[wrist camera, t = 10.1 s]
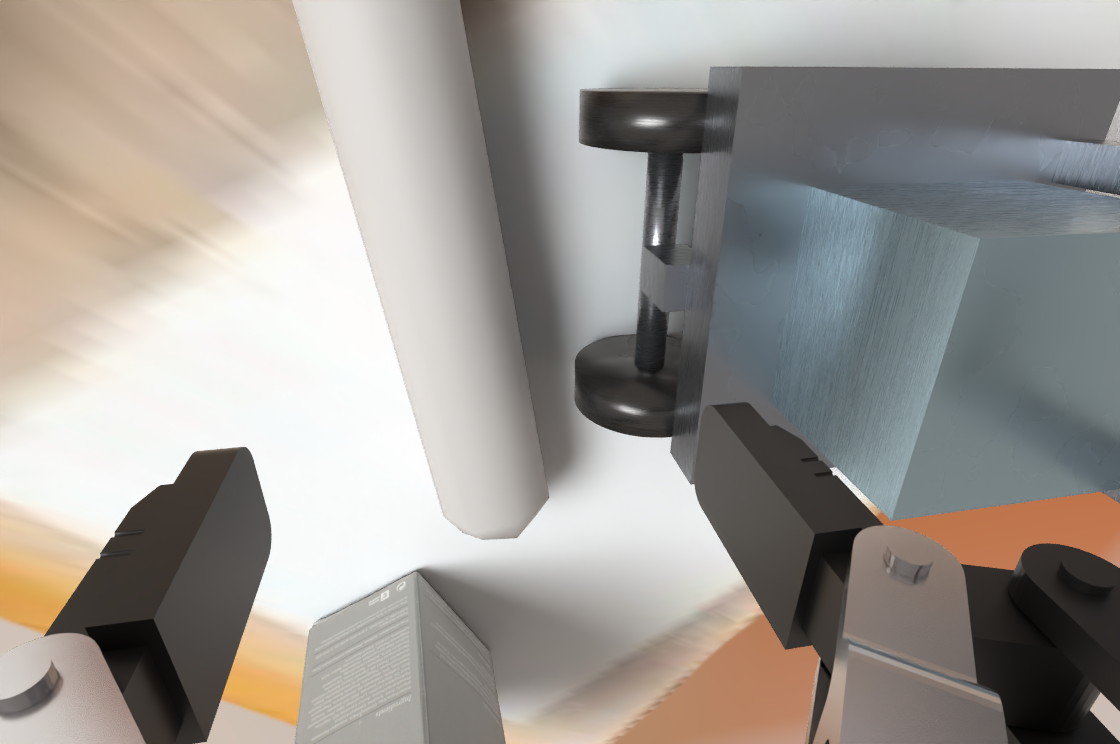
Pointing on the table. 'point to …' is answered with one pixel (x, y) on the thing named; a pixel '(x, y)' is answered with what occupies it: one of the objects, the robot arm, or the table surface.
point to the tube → (433, 245)
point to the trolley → (880, 275)
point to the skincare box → (398, 674)
